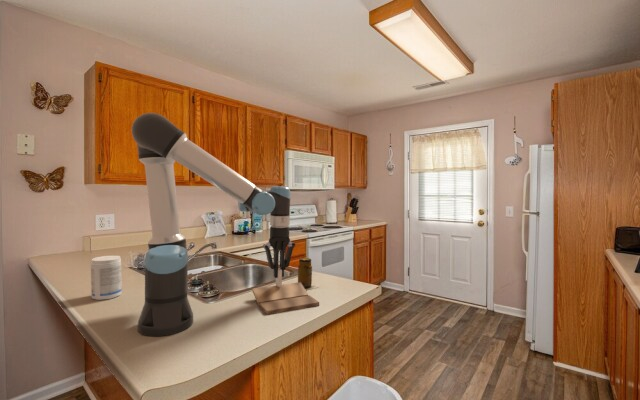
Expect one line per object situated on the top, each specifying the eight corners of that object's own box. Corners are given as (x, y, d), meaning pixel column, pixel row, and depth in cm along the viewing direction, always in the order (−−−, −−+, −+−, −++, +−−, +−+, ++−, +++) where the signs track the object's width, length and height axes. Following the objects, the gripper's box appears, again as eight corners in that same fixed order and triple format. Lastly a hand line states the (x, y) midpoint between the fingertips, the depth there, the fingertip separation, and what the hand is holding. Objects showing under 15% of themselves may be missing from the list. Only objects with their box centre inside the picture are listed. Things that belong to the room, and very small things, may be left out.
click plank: (258, 305, 114) (258, 302, 114) (252, 291, 121) (252, 288, 120) (308, 297, 123) (308, 294, 123) (300, 284, 130) (300, 282, 130)
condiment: (306, 282, 142) (307, 256, 142) (318, 287, 136) (318, 260, 136) (293, 285, 138) (293, 258, 137) (304, 290, 131) (305, 262, 131)
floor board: (266, 314, 106) (266, 311, 106) (258, 305, 113) (258, 302, 113) (319, 305, 115) (319, 302, 115) (308, 297, 123) (308, 294, 123)
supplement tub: (126, 292, 125) (126, 255, 124) (111, 300, 115) (111, 260, 114) (101, 292, 124) (101, 255, 124) (84, 300, 115) (84, 260, 114)
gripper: (266, 228, 116) (265, 291, 118) (299, 226, 122) (297, 286, 124) (260, 225, 123) (259, 284, 125) (291, 223, 129) (290, 280, 131)
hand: (278, 285), depth 124 cm, fingers closed
